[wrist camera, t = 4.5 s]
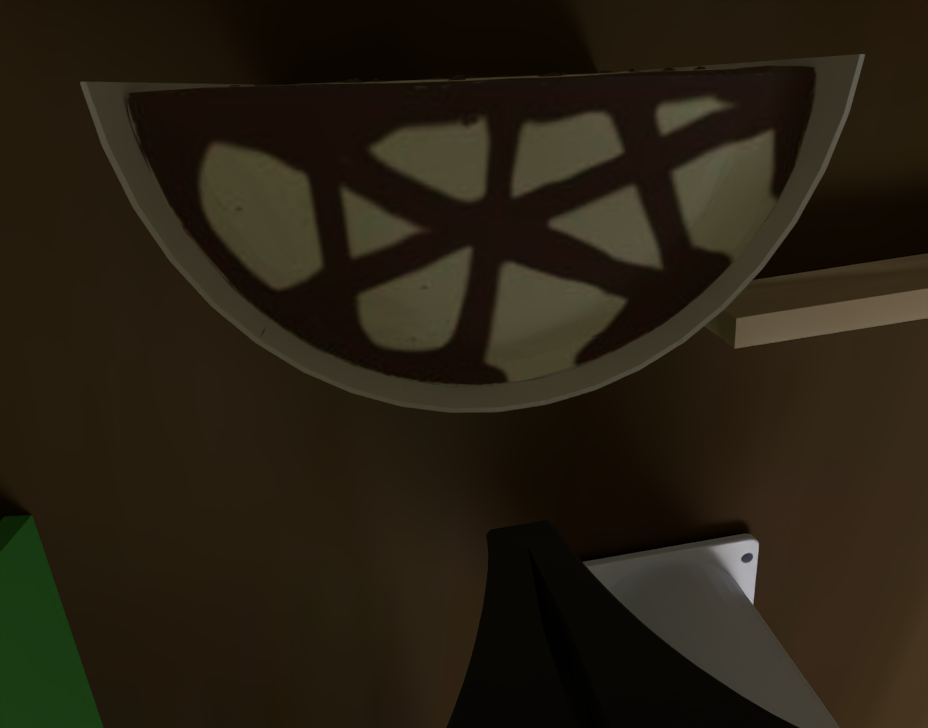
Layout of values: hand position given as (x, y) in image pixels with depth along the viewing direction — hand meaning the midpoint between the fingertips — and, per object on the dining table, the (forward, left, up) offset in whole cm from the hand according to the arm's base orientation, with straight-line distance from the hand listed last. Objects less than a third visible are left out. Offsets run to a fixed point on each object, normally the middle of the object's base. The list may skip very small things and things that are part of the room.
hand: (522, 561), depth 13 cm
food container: (+7, 0, -10) cm, 12 cm away
